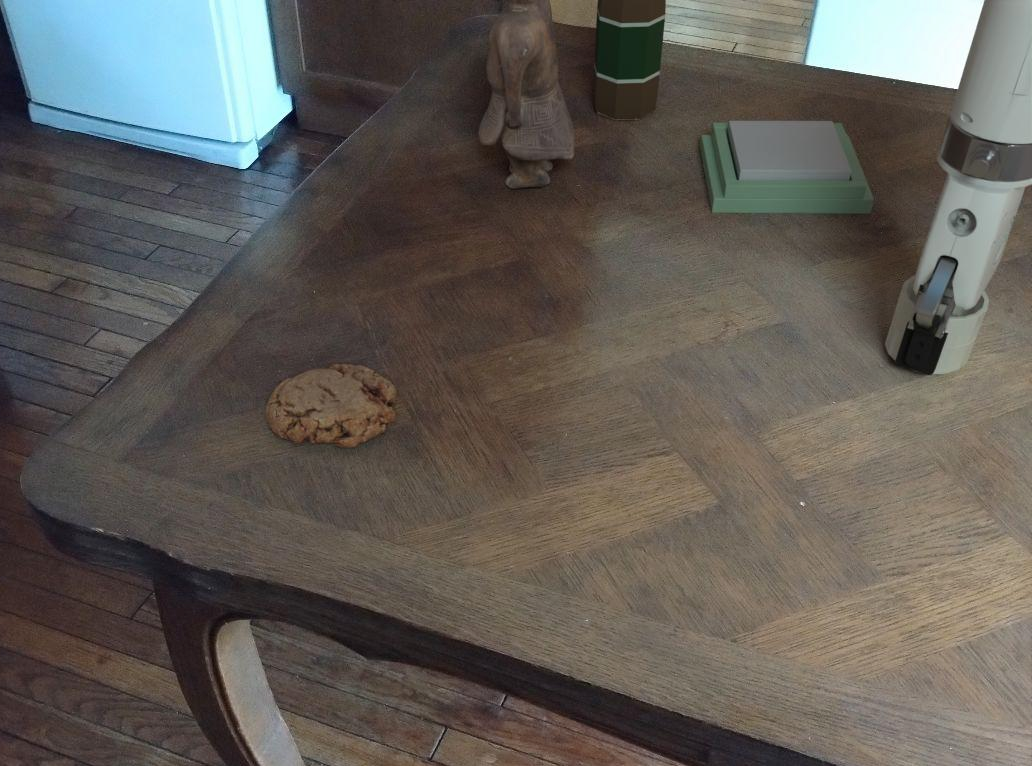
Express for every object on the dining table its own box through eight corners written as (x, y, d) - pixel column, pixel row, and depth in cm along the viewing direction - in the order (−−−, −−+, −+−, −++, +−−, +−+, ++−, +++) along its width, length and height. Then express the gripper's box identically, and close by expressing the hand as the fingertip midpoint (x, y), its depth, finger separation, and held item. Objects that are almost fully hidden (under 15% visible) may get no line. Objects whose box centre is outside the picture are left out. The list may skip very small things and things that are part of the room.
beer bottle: (610, 128, 122) (626, -109, 104) (579, 101, 126) (589, -129, 109) (669, 114, 124) (694, -120, 106) (636, 88, 129) (655, -140, 111)
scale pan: (829, 132, 114) (832, 120, 113) (848, 183, 107) (851, 170, 106) (726, 132, 115) (728, 120, 114) (738, 182, 107) (740, 170, 106)
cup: (955, 331, 94) (976, 272, 89) (975, 379, 89) (999, 319, 85) (876, 330, 94) (894, 271, 89) (893, 378, 89) (912, 318, 85)
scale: (845, 148, 117) (851, 122, 115) (870, 214, 107) (877, 186, 105) (699, 148, 118) (702, 122, 116) (711, 213, 108) (715, 185, 106)
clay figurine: (490, 147, 119) (485, -104, 101) (579, 152, 118) (590, -102, 99) (471, 206, 110) (461, -58, 92) (567, 211, 109) (576, -55, 91)
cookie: (254, 399, 89) (248, 371, 87) (373, 366, 92) (370, 337, 89) (289, 473, 83) (283, 444, 80) (415, 434, 85) (413, 405, 83)
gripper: (1018, 211, 71) (942, 415, 84) (1076, 111, 81) (1000, 307, 94) (908, 183, 74) (850, 384, 87) (977, 89, 84) (916, 283, 97)
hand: (928, 343), depth 91 cm, fingers closed on cup, 7 cm apart
